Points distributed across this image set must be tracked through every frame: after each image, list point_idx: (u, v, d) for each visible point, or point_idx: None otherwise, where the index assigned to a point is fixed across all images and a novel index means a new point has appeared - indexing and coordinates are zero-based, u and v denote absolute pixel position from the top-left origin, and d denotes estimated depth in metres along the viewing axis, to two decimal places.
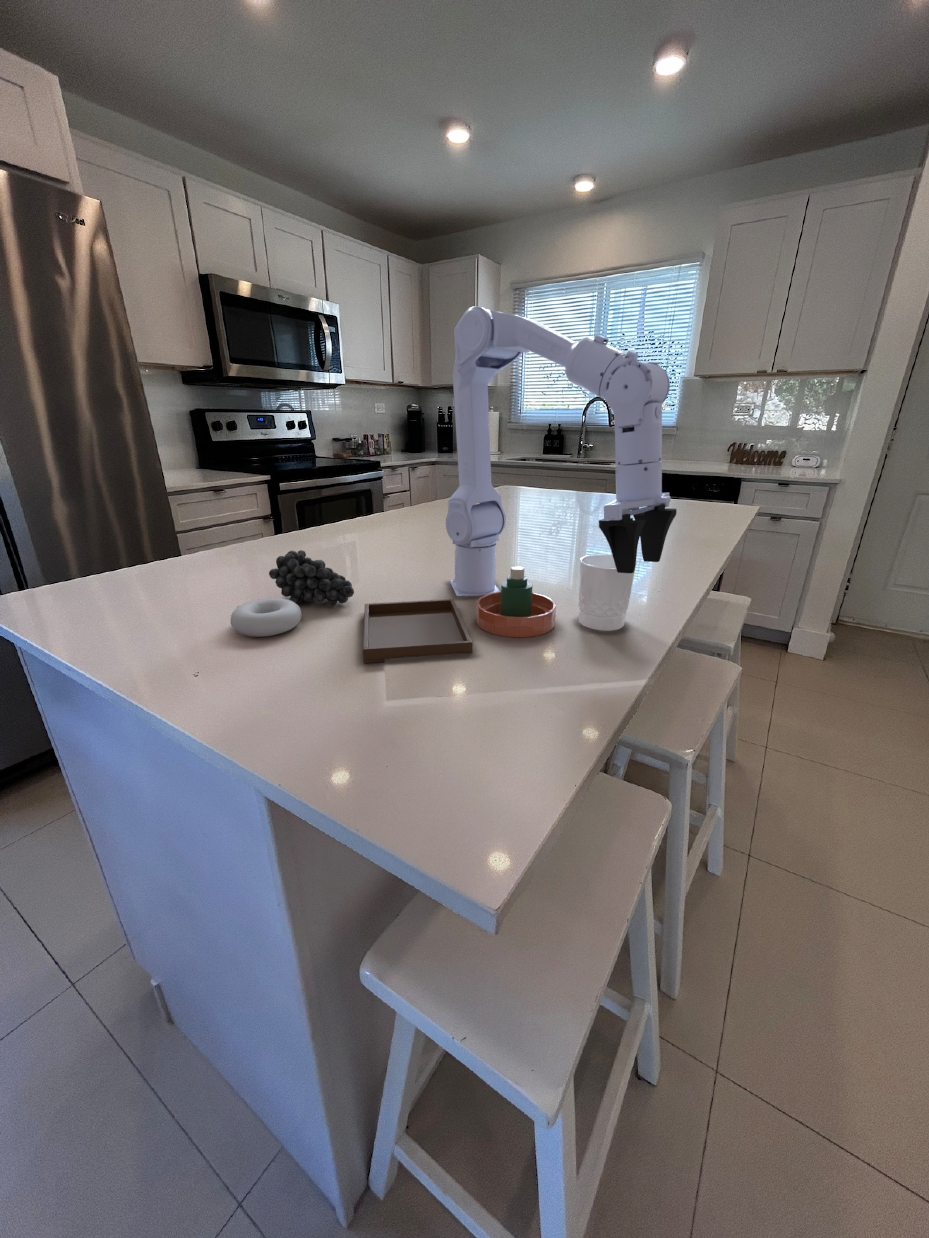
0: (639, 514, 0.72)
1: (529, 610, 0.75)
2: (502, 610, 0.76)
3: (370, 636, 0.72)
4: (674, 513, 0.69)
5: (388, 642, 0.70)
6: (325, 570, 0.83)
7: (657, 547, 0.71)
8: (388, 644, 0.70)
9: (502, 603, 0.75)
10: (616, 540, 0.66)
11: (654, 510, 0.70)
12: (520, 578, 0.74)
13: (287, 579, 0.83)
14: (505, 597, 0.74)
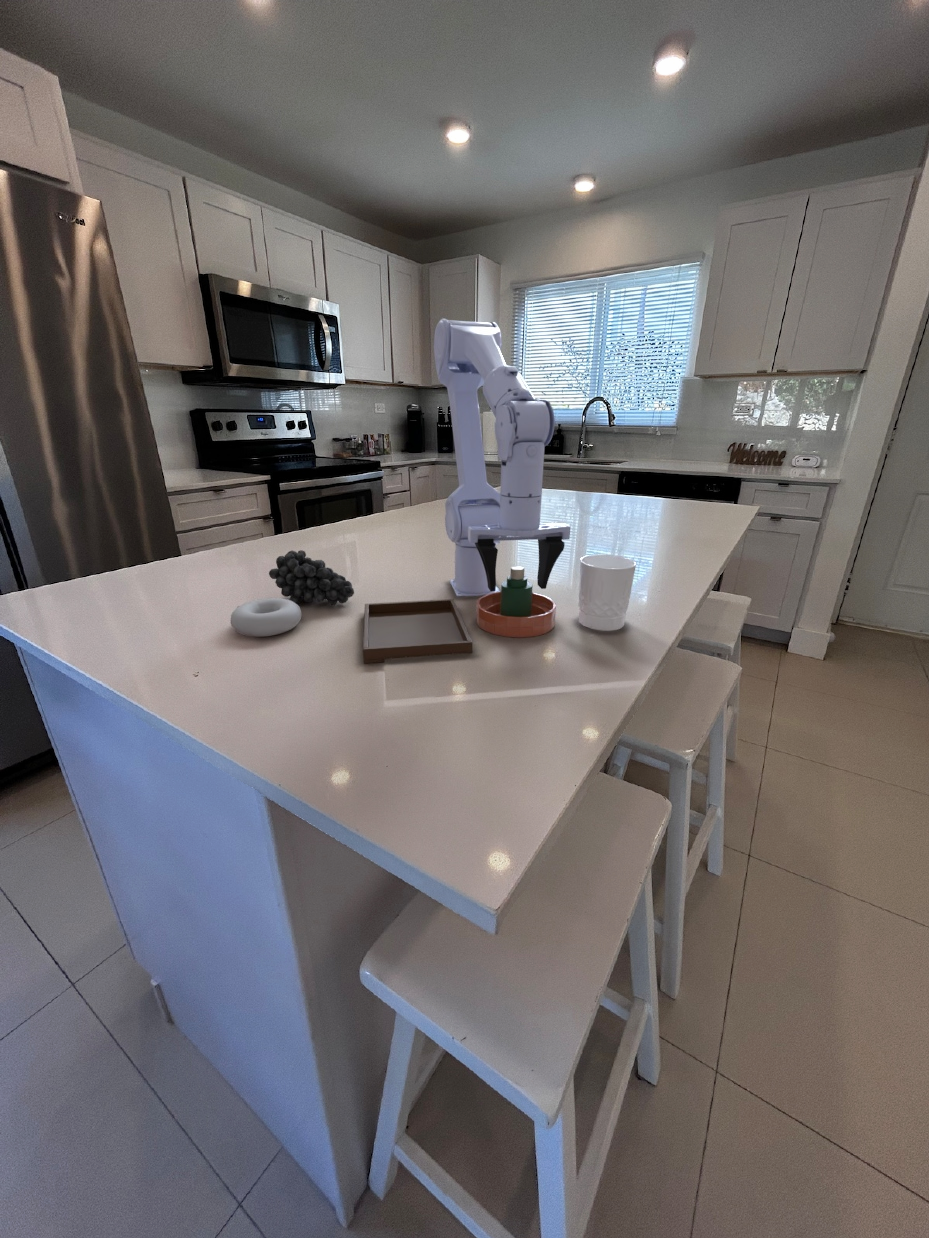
0: (540, 540, 0.75)
1: (529, 610, 0.75)
2: (502, 610, 0.76)
3: (370, 636, 0.72)
4: (558, 548, 0.71)
5: (388, 642, 0.70)
6: (325, 570, 0.83)
7: (542, 575, 0.74)
8: (388, 644, 0.70)
9: (502, 603, 0.75)
10: None
11: (545, 540, 0.73)
12: (520, 578, 0.74)
13: (287, 579, 0.83)
14: (505, 597, 0.74)
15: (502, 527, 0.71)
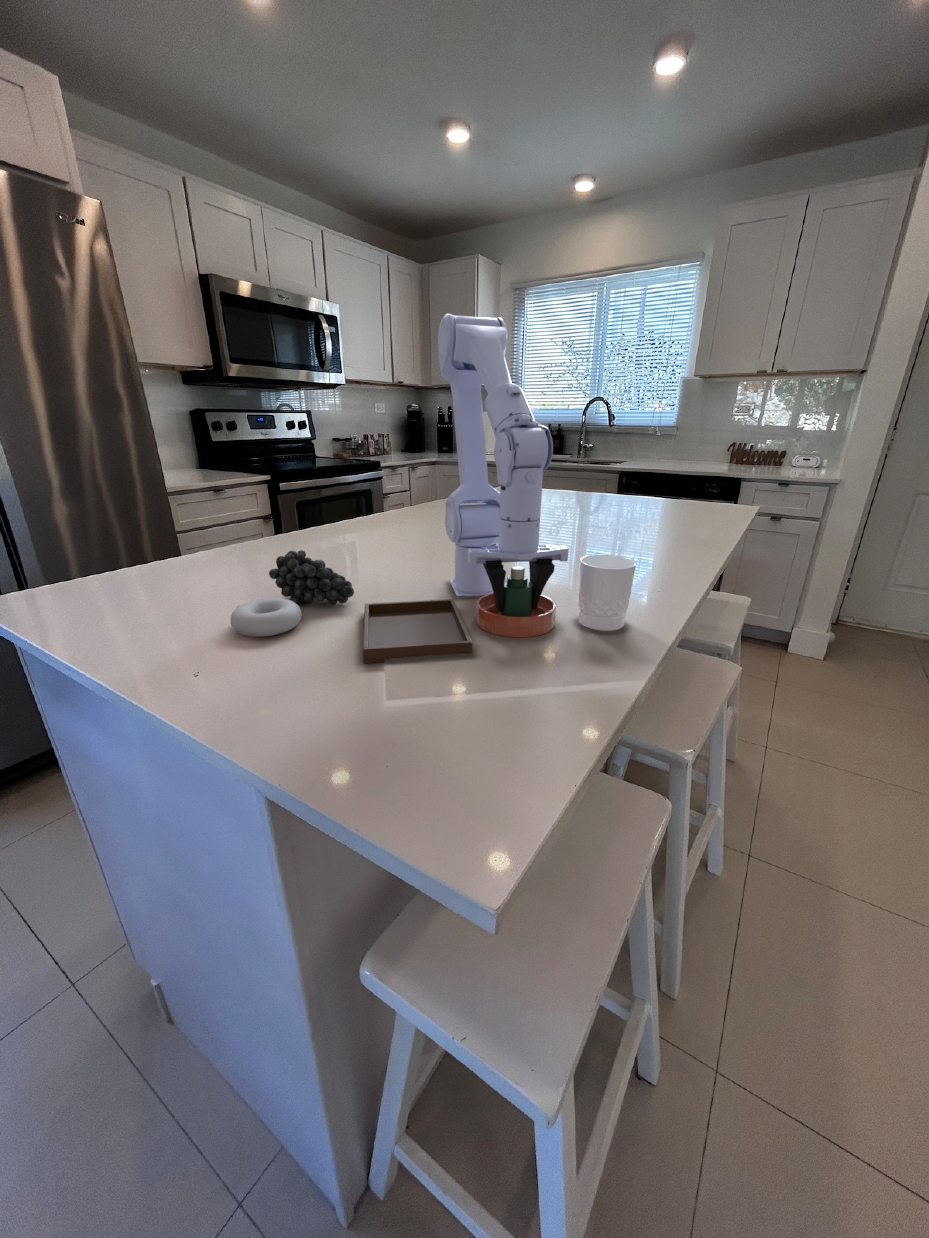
0: (531, 561, 0.76)
1: (529, 610, 0.75)
2: None
3: (370, 636, 0.72)
4: (548, 570, 0.72)
5: (388, 642, 0.70)
6: (325, 570, 0.83)
7: (533, 596, 0.75)
8: (388, 644, 0.70)
9: None
10: None
11: (536, 562, 0.74)
12: (520, 578, 0.74)
13: (287, 579, 0.83)
14: (505, 597, 0.74)
15: (501, 550, 0.72)
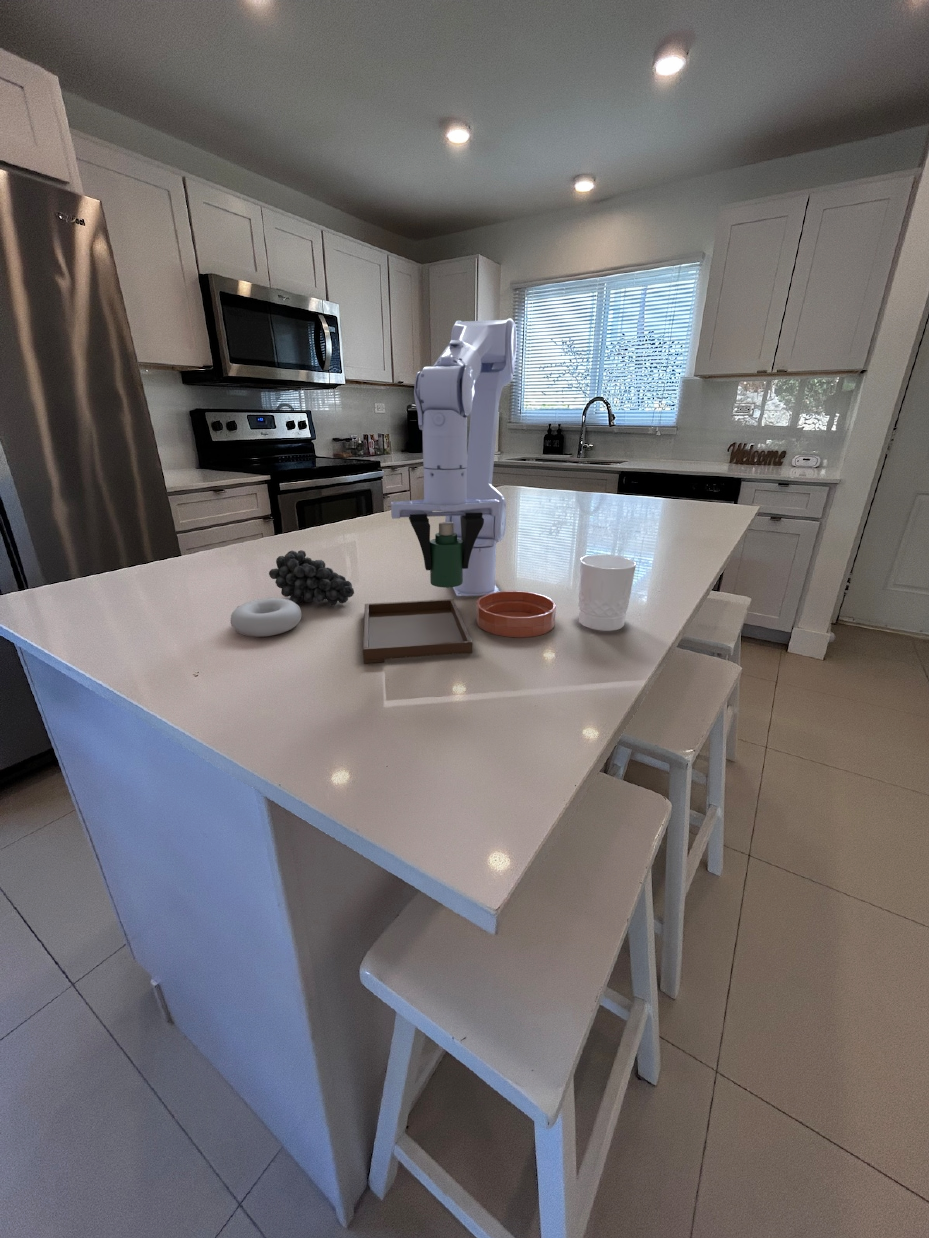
0: (461, 517, 0.71)
1: (459, 569, 0.70)
2: (431, 569, 0.71)
3: (370, 636, 0.72)
4: (476, 524, 0.67)
5: (388, 642, 0.70)
6: (325, 570, 0.83)
7: (463, 554, 0.70)
8: (388, 644, 0.70)
9: (431, 562, 0.70)
10: None
11: (465, 516, 0.69)
12: (448, 534, 0.69)
13: (287, 579, 0.83)
14: (433, 555, 0.69)
15: (426, 502, 0.67)
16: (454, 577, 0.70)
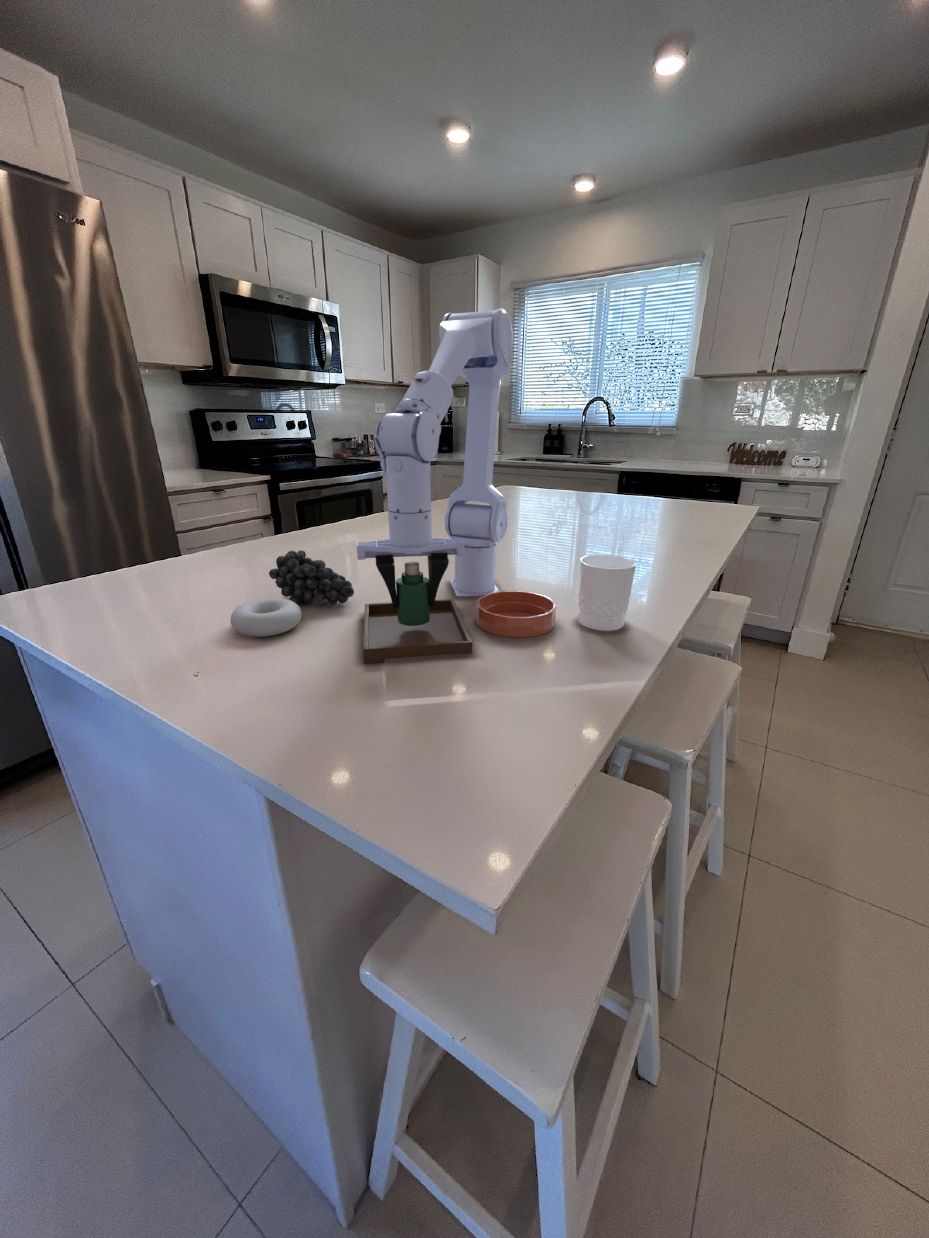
0: (428, 556, 0.72)
1: (426, 608, 0.71)
2: (398, 608, 0.72)
3: (370, 636, 0.72)
4: (441, 565, 0.68)
5: (388, 642, 0.70)
6: (325, 570, 0.83)
7: (429, 593, 0.71)
8: (388, 644, 0.70)
9: (397, 600, 0.71)
10: None
11: (430, 556, 0.70)
12: (414, 574, 0.70)
13: (287, 579, 0.83)
14: (399, 594, 0.70)
15: (391, 543, 0.68)
16: (420, 616, 0.71)
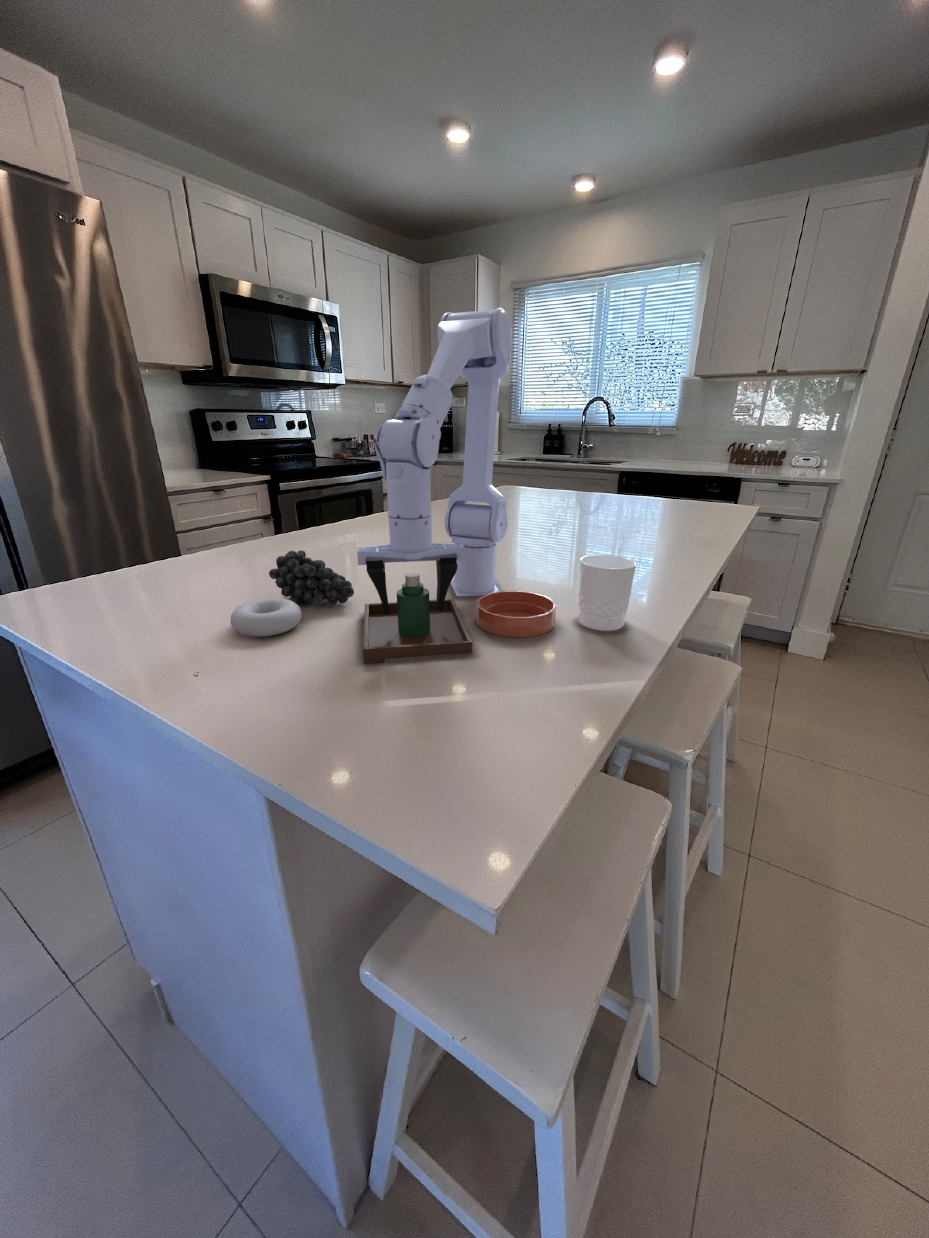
0: (437, 561, 0.73)
1: (426, 619, 0.72)
2: (398, 619, 0.72)
3: (370, 636, 0.72)
4: (450, 570, 0.69)
5: (388, 642, 0.70)
6: (325, 570, 0.83)
7: (438, 597, 0.72)
8: (388, 644, 0.70)
9: (398, 611, 0.72)
10: None
11: (439, 561, 0.71)
12: (414, 585, 0.71)
13: (287, 579, 0.83)
14: (399, 606, 0.71)
15: (391, 549, 0.68)
16: (420, 627, 0.72)
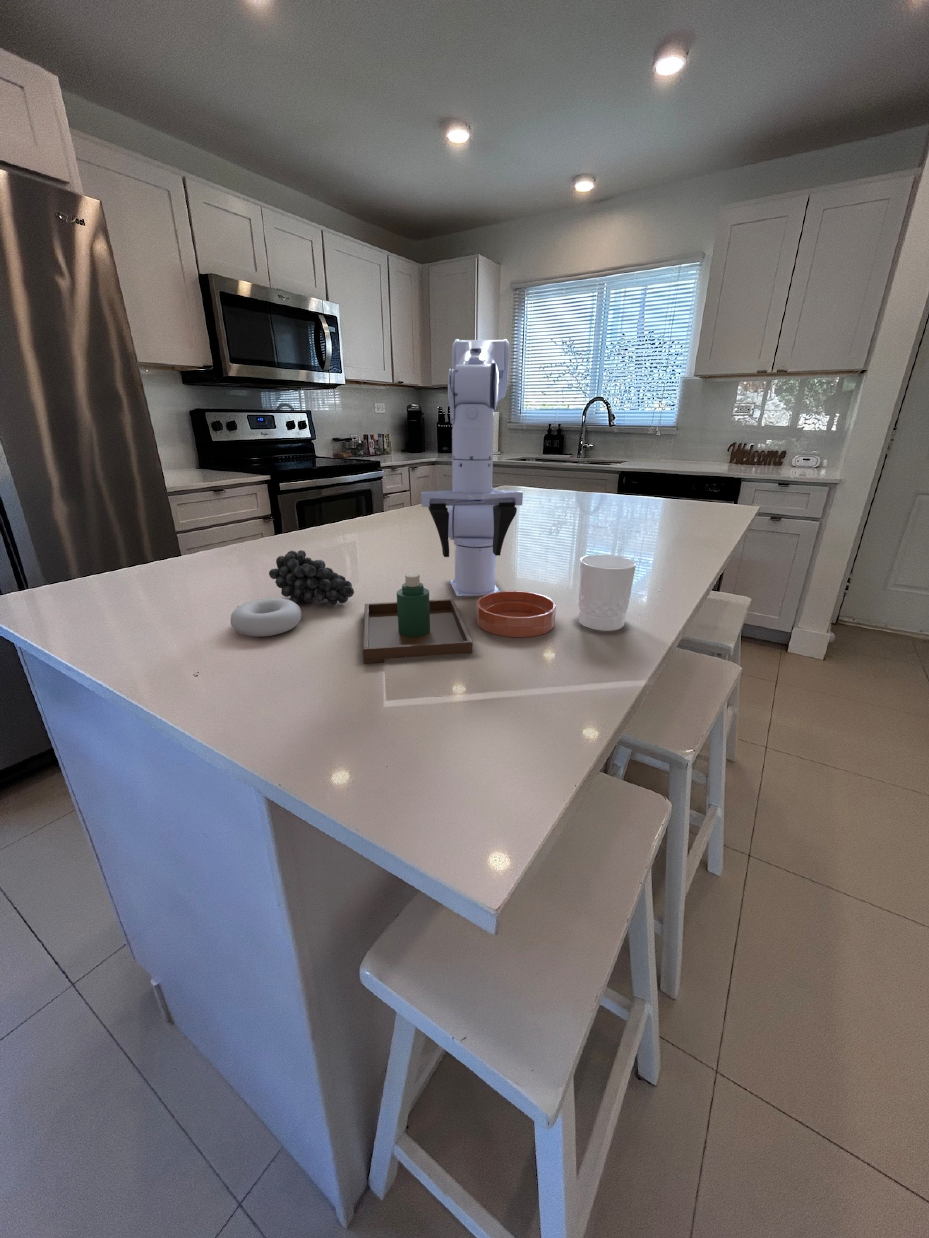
0: (494, 507, 0.76)
1: (426, 619, 0.72)
2: (398, 619, 0.72)
3: (370, 636, 0.72)
4: (510, 512, 0.72)
5: (388, 642, 0.70)
6: (325, 570, 0.83)
7: (496, 541, 0.75)
8: (388, 644, 0.70)
9: (398, 611, 0.72)
10: None
11: (498, 506, 0.73)
12: (414, 585, 0.71)
13: (287, 579, 0.83)
14: (399, 606, 0.71)
15: (454, 491, 0.71)
16: (420, 627, 0.72)
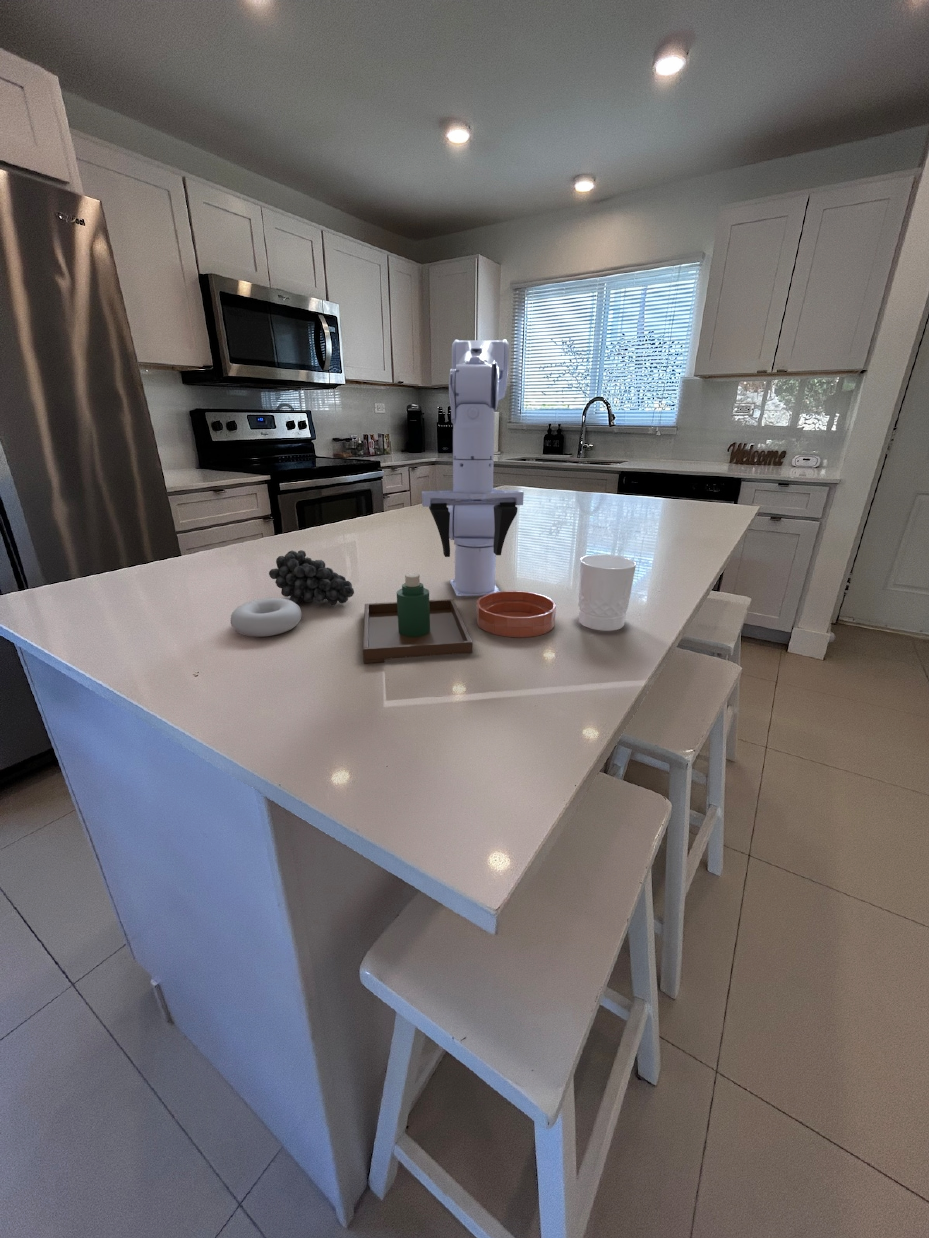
0: (495, 507, 0.76)
1: (426, 619, 0.72)
2: (398, 619, 0.72)
3: (370, 636, 0.72)
4: (511, 512, 0.72)
5: (388, 642, 0.70)
6: (325, 570, 0.83)
7: (497, 541, 0.75)
8: (388, 644, 0.70)
9: (398, 611, 0.72)
10: None
11: (499, 506, 0.74)
12: (414, 585, 0.71)
13: (287, 579, 0.83)
14: (399, 606, 0.71)
15: (455, 491, 0.71)
16: (420, 627, 0.72)
